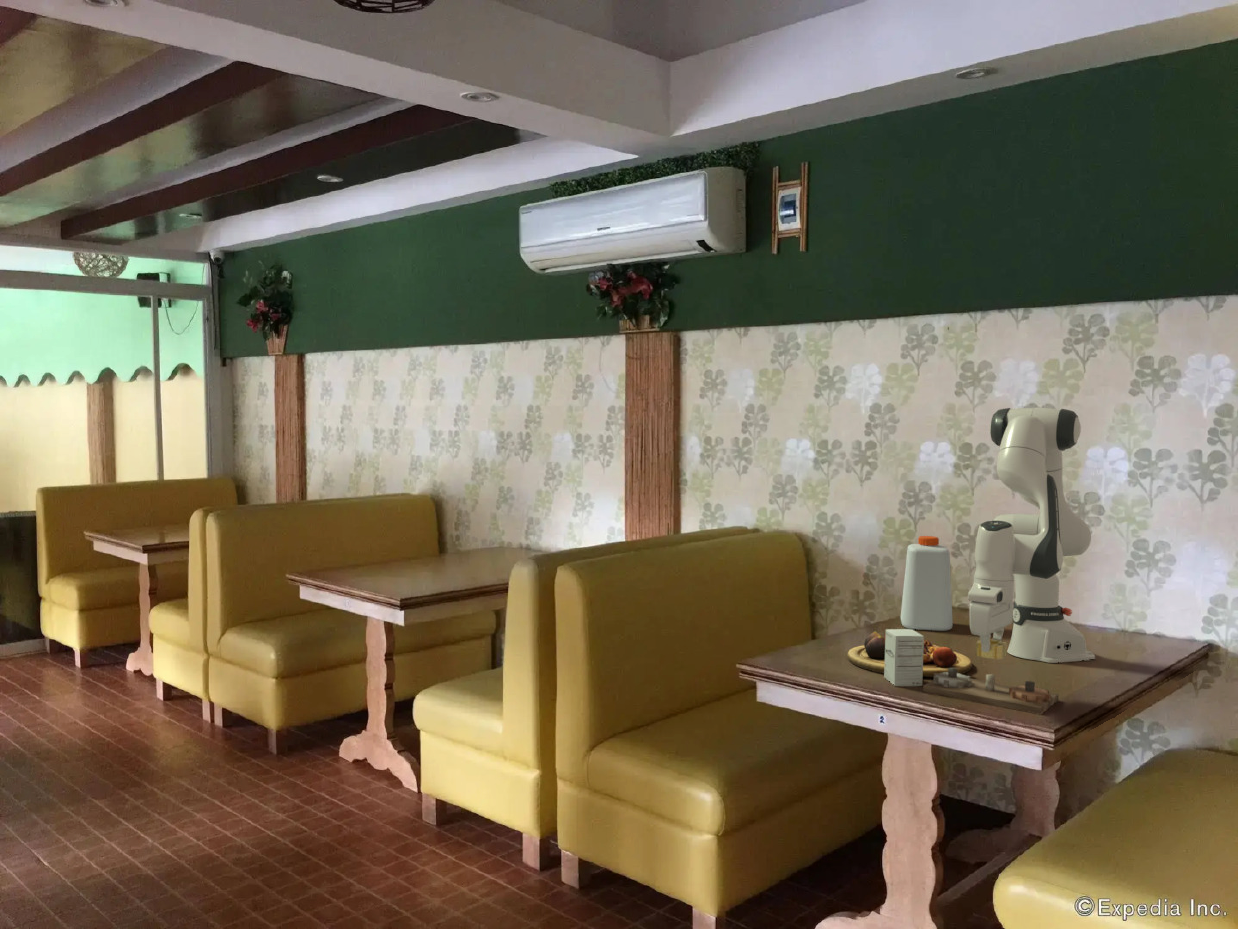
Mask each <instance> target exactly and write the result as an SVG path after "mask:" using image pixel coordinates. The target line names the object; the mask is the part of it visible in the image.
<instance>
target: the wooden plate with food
mask: <svg viewBox="0 0 1238 929" xmlns="http://www.w3.org/2000/svg"><path fill="white" fill-rule="evenodd" d="M885 637H886V633H885V634H884V635H881V634H880V633H878V632H877V631H874V632H872V633H871V634H869V635H868V636H867V637H866V638H865V639H864V642H863V643H864V644H862V645H858V646H855V647H852V648H850V649H849V650H848V652H847V653H846V657H847V659H848V661H849V663H852V664H853V665H854V666H857V667H858V668H862V669H865V670H867V669H868V670H867V671H871V670H872V671H871V672H875V671H876V673H882V674H884V668H885ZM972 667H973V665H972V661H971V659H970V658H969V656H966V655H964V654H962V653H959V652H956V651H955V650H953V649H952V648H949V647H948V646H939V645H935V644H932V643H931V642H930V640H929V639H928V640H925V639H924V650H923V678H934V674H935V673H937V674H939V673H942V672H947V673H948V668H956V669H957V673H961V674H962V675H964V674H965V673H967V672H969V671H970V670H971V669H972Z"/></svg>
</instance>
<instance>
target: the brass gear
mask: <svg viewBox="0 0 1238 929" xmlns="http://www.w3.org/2000/svg"><path fill="white" fill-rule="evenodd" d="M990 644H991V651H989V652H983V651H982V650H981V641H980V639H978V640H976V642H975V657H980V658H985V659H992V660H993V659H994V660H1002V659H1005V658H1006V656H1007V650H1008V646H1007V645H1008V644H1007V642H1006V641H1002V640H1001V641H998V640H992V638H990Z"/></svg>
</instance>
